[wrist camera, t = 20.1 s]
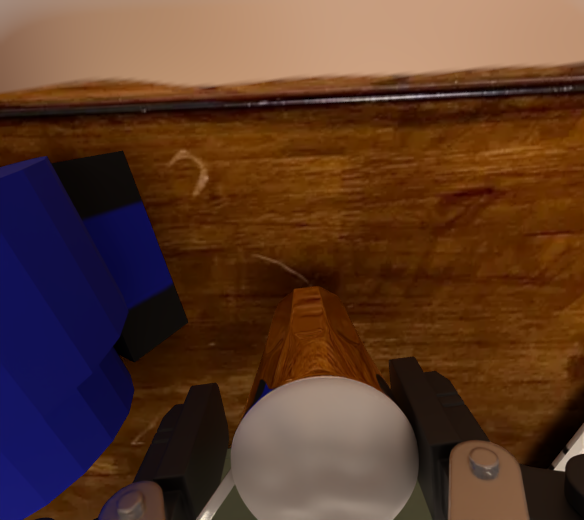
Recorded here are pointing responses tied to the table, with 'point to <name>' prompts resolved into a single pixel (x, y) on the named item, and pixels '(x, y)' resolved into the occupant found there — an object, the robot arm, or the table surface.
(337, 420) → the milkshake
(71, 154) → the table surface
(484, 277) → the table surface
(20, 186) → the alarm clock
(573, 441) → the plate
